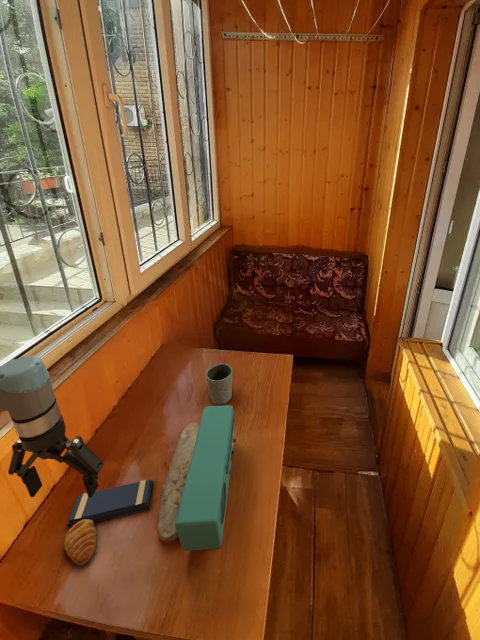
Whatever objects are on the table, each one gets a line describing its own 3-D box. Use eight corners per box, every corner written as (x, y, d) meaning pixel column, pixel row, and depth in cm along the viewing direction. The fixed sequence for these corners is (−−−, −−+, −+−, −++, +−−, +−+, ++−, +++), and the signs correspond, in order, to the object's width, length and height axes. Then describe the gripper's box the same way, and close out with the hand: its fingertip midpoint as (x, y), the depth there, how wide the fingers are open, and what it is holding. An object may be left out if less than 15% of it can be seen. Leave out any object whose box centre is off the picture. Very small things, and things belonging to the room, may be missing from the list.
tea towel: (68, 528, 82) (66, 522, 81) (79, 500, 89) (76, 494, 88) (149, 509, 87) (147, 503, 86) (153, 484, 93) (152, 477, 92)
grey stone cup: (207, 406, 120) (204, 382, 116) (209, 387, 129) (207, 364, 125) (233, 404, 121) (231, 379, 117) (234, 385, 131) (232, 362, 127)
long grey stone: (209, 428, 112) (181, 432, 111) (207, 416, 111) (178, 420, 110) (190, 541, 79) (150, 548, 78) (187, 527, 77) (146, 533, 76)
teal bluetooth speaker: (225, 561, 75) (220, 521, 70) (181, 565, 75) (173, 524, 70) (238, 437, 107) (235, 404, 102) (207, 439, 107) (203, 405, 102)
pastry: (103, 551, 78) (100, 541, 76) (72, 576, 73) (67, 566, 72) (93, 520, 84) (89, 511, 83) (63, 541, 79) (59, 532, 78)
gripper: (108, 409, 70) (125, 475, 77) (-2, 409, 70) (25, 474, 77) (87, 440, 63) (108, 509, 70) (-35, 439, 63) (-1, 508, 70)
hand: (65, 491), depth 73 cm, fingers open, 13 cm apart
